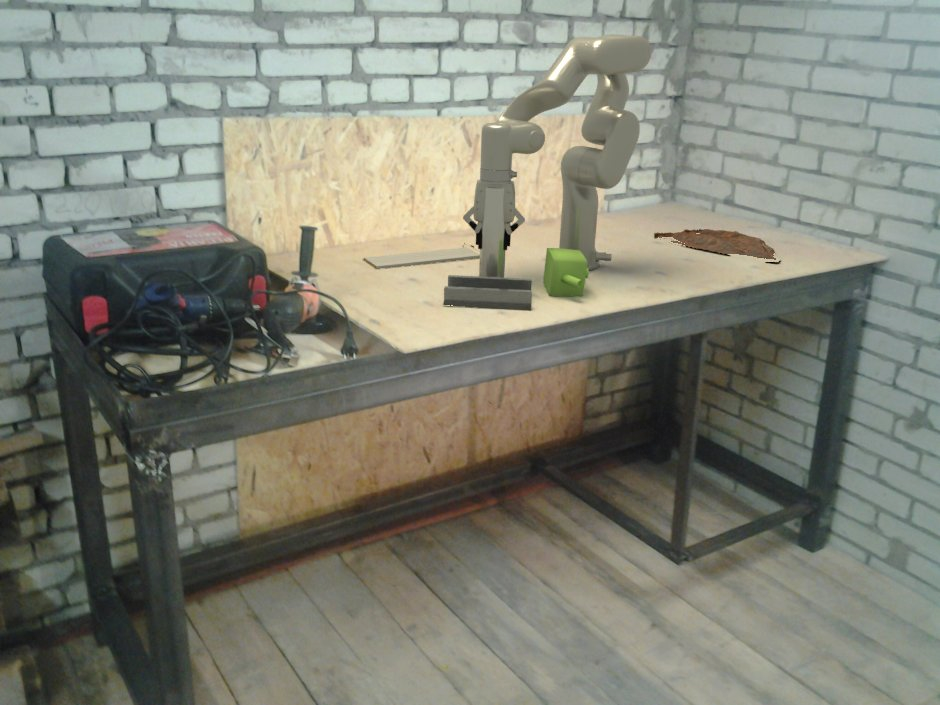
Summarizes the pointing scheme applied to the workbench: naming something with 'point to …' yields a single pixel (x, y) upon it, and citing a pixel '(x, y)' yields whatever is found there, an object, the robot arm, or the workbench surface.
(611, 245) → the workbench surface
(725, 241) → the brown flat irregular piece
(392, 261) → the baseboard
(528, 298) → the floor track
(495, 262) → the tan metal cylinder
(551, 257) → the lime handled box
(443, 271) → the workbench surface
